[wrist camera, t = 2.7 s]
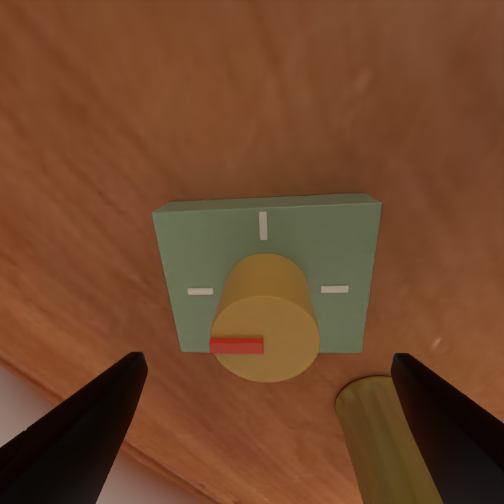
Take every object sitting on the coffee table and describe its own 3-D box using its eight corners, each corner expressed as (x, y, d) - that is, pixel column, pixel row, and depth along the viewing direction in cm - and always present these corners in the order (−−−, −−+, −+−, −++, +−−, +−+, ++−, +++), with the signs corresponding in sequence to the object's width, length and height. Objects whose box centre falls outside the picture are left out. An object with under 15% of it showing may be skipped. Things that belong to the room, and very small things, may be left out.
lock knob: (308, 251, 13) (325, 299, 9) (306, 322, 15) (319, 390, 11) (221, 253, 13) (200, 301, 9) (229, 323, 15) (214, 388, 11)
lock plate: (364, 192, 14) (384, 203, 12) (349, 325, 17) (362, 355, 15) (169, 201, 15) (149, 213, 12) (192, 326, 18) (180, 354, 16)
